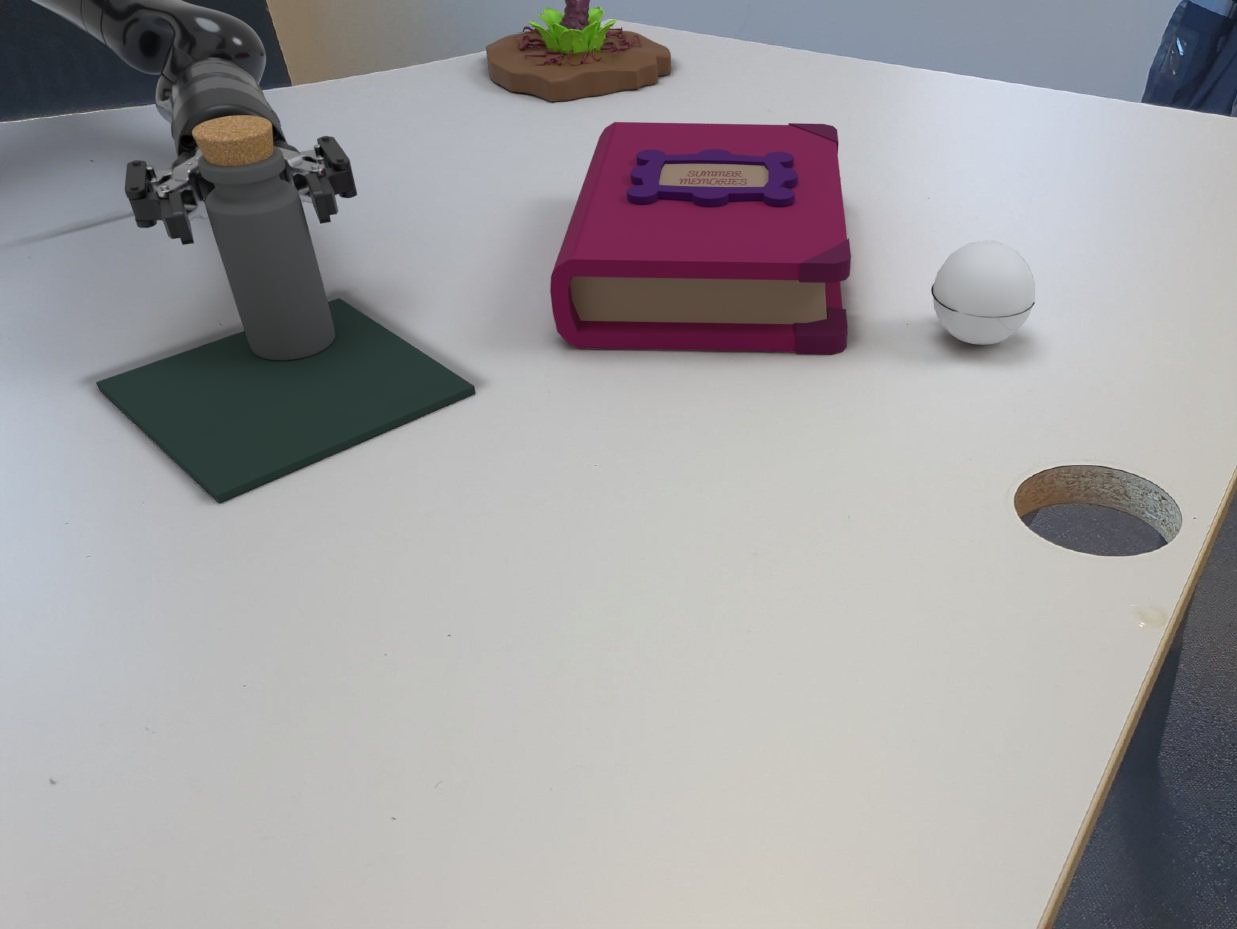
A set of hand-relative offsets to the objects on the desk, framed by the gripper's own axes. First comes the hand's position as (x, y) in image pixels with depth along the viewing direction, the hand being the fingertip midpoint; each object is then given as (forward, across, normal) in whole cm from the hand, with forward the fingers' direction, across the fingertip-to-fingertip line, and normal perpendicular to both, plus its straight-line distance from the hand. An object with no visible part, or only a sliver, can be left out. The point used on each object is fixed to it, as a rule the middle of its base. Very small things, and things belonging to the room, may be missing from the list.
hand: (254, 219), depth 73 cm
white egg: (+18, -46, -10) cm, 50 cm away
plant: (-56, -39, -10) cm, 69 cm away
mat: (+4, +1, -10) cm, 11 cm away
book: (-2, -33, -10) cm, 34 cm away
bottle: (-2, 0, -10) cm, 10 cm away
